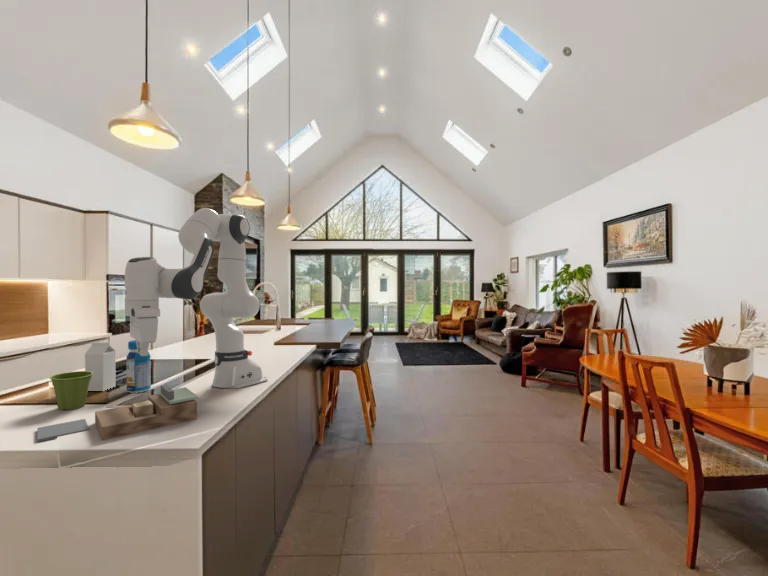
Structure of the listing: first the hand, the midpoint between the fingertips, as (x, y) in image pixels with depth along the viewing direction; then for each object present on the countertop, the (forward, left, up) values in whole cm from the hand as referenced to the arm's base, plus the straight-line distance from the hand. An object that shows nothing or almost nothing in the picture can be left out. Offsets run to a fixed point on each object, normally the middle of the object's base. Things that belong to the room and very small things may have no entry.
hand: (142, 354), depth 116 cm
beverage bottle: (-6, -42, -21) cm, 47 cm away
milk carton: (+5, -54, -21) cm, 58 cm away
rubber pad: (+18, -9, -21) cm, 29 cm away
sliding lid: (-10, 0, -15) cm, 18 cm away
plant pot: (+15, -34, -21) cm, 43 cm away
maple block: (0, 0, -21) cm, 21 cm away
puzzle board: (-1, 0, -21) cm, 21 cm away
